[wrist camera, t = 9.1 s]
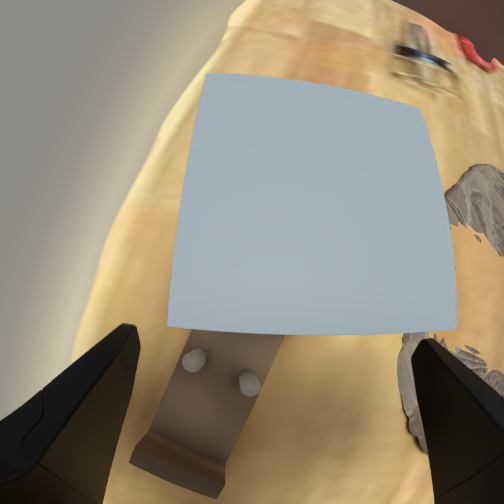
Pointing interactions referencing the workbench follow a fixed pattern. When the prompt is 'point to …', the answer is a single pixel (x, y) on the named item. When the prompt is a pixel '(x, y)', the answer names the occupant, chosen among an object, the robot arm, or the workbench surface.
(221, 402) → the rail
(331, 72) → the workbench surface
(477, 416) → the robot arm
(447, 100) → the workbench surface
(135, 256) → the workbench surface
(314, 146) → the frame block
